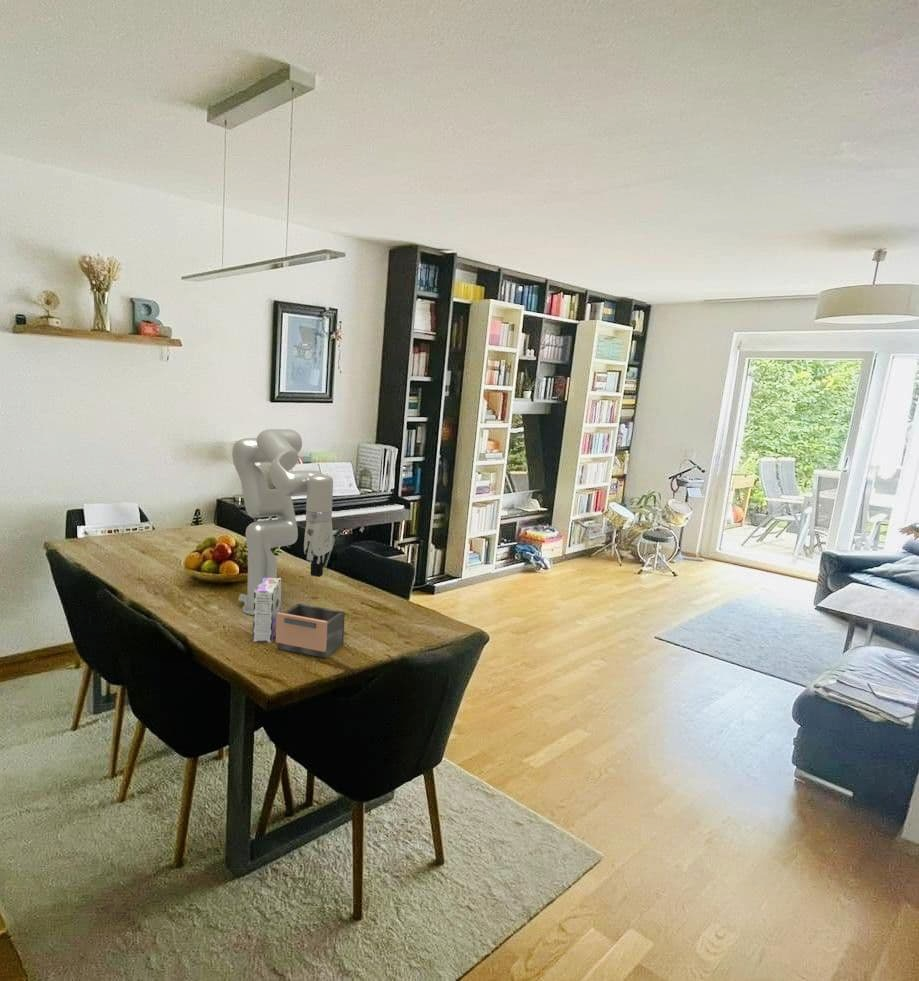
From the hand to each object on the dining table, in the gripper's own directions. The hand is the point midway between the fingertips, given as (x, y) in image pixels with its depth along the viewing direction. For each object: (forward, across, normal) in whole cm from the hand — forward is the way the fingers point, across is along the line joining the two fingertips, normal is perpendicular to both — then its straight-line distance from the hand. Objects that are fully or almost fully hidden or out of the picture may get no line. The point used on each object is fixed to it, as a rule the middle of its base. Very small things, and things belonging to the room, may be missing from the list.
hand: (316, 575), depth 186 cm
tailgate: (+20, -8, 0) cm, 21 cm away
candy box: (+22, +1, +17) cm, 28 cm away
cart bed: (+22, -2, 0) cm, 22 cm away
